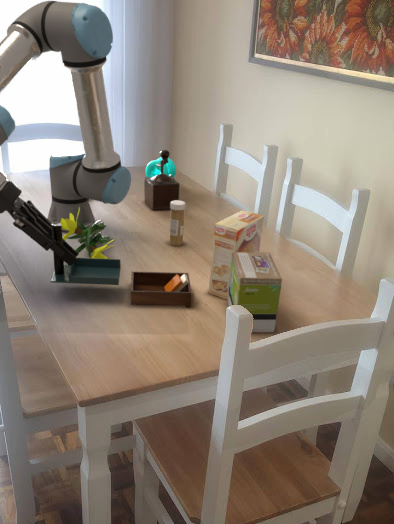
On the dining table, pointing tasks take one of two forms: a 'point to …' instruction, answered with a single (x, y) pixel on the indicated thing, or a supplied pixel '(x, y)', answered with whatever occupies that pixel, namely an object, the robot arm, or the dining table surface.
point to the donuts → (155, 170)
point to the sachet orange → (173, 284)
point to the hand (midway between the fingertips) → (74, 259)
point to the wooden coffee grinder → (161, 187)
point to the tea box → (255, 288)
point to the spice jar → (176, 222)
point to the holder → (158, 289)
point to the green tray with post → (84, 267)
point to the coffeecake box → (232, 247)
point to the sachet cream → (185, 282)
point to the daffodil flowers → (87, 236)
